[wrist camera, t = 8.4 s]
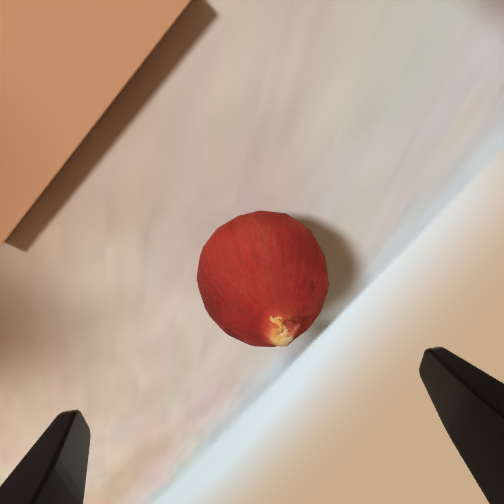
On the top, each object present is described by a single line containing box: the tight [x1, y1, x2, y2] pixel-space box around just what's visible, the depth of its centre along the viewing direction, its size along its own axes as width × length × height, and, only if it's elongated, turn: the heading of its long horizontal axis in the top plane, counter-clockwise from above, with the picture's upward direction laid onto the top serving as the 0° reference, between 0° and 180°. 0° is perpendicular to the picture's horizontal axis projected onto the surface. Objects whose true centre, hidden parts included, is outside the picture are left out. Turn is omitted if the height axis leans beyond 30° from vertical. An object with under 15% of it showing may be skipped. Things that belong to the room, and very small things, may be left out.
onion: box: [197, 211, 329, 347], centre depth 15 cm, size 6×6×8 cm
